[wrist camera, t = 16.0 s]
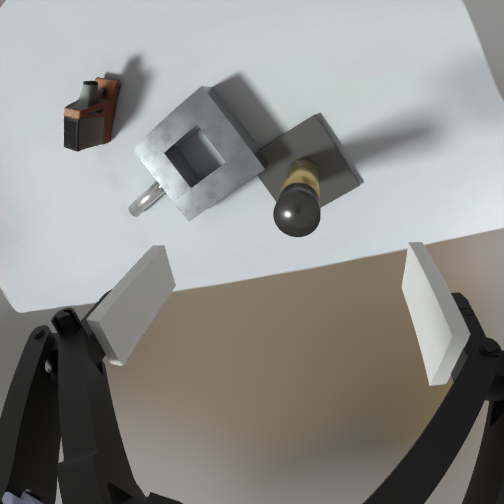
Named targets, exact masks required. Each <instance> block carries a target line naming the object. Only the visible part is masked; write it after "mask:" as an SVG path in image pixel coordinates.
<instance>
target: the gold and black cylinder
mask: <svg viewBox="0 0 504 504" xmlns="http://www.w3.org/2000/svg"><path fill="white" fill-rule="evenodd" d="M273 214H274V221H275V223H276V225H277V227H278V228H279V229H280V230H281V231H282V232H283V233H285V234H287V235H289V236H292V237H303V236H306V235H309V234H310V233H312V232H313V231H314V230H315V229H316V228H317V226H318V224H319V222H320V194H319V175H318V168H317V166H316V164H315V163H314V162H313V161H311V160H310V159H307V158H299V159H296V160H294V161H293V162H292V163H291V165H290V167H289V169H288V172H287V175H286V178H285V180H284V183H283V186H282V189H281V191H280V194H279V197H278V200H277V203H276V205H275V208H274V213H273Z"/></svg>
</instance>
